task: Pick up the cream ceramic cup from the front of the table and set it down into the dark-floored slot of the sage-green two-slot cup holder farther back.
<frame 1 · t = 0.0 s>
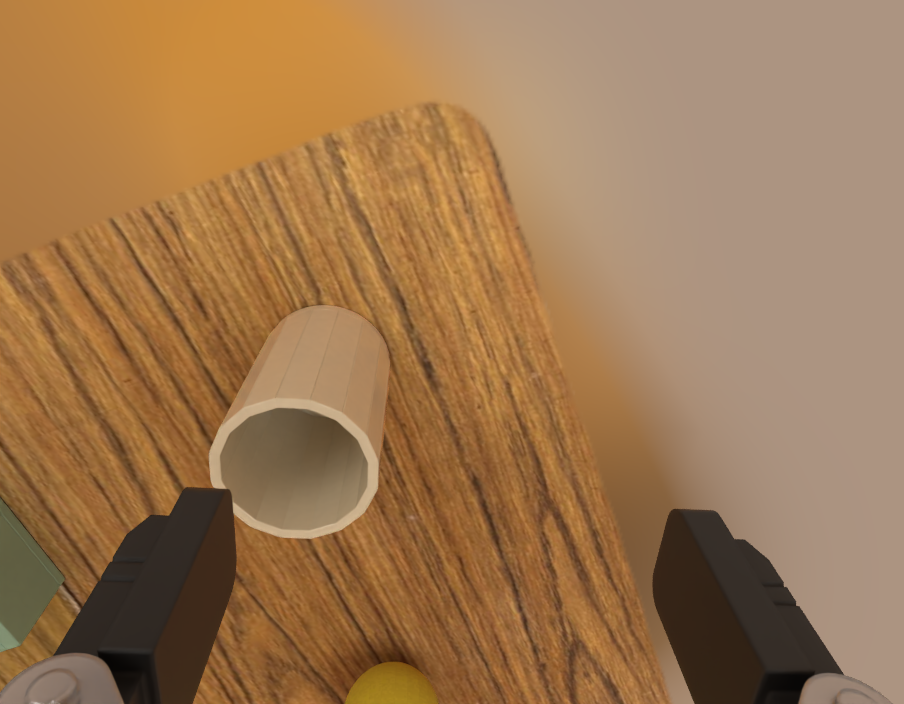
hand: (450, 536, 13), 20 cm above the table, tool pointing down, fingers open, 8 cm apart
lemon: (394, 662, 41), on the table
cup: (327, 363, 33), on the table
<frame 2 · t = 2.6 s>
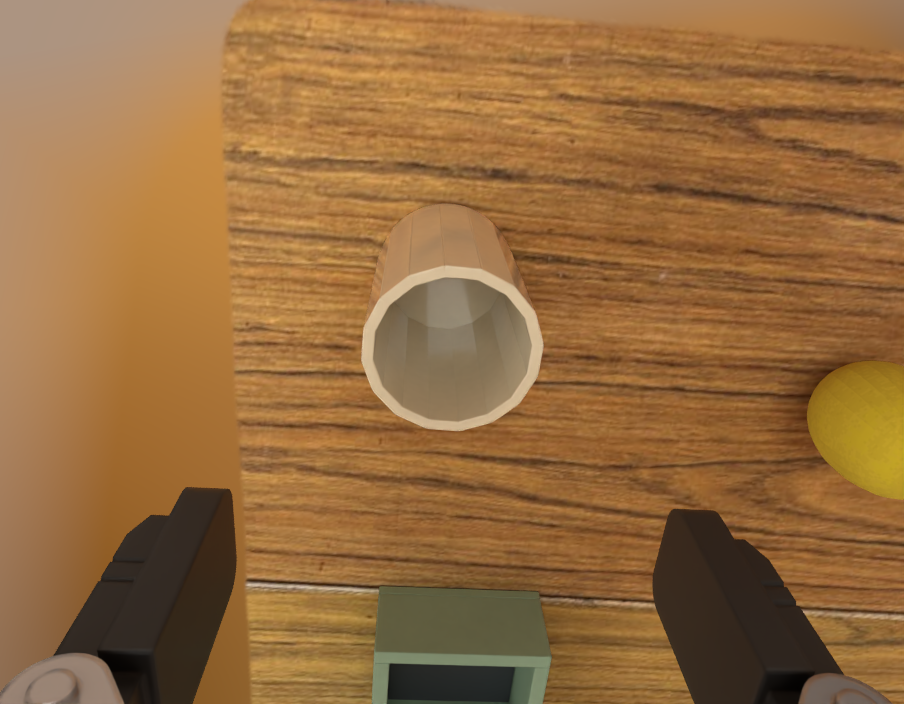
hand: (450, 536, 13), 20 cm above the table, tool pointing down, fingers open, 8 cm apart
lemon: (831, 383, 34), on the table
cup: (445, 269, 31), on the table
holder: (447, 694, 42), on the table
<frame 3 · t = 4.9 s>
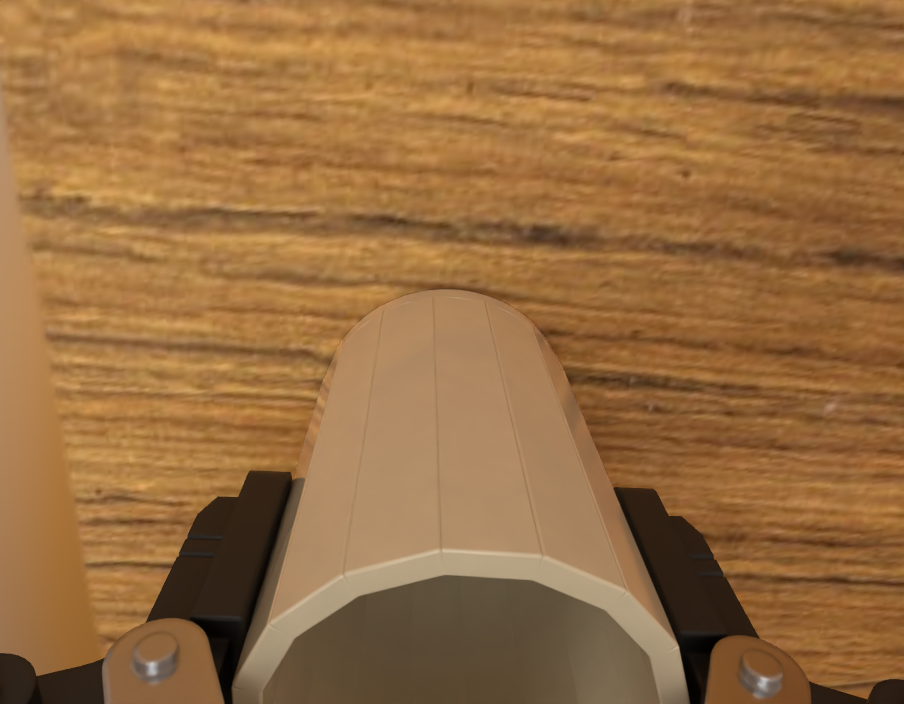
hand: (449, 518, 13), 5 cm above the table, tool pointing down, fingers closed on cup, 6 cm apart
cup: (444, 401, 17), on the table, touching gripper
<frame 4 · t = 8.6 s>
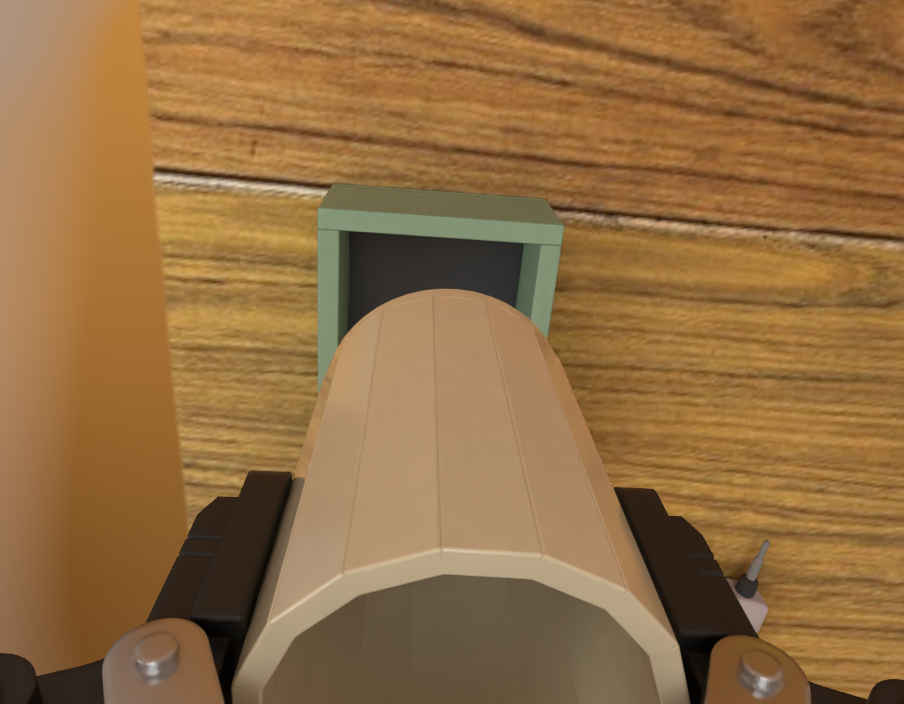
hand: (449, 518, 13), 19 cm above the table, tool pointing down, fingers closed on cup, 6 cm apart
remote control: (681, 626, 41), on the table
cup: (444, 400, 17), point 14 cm above the table, touching gripper
holder: (427, 372, 33), on the table
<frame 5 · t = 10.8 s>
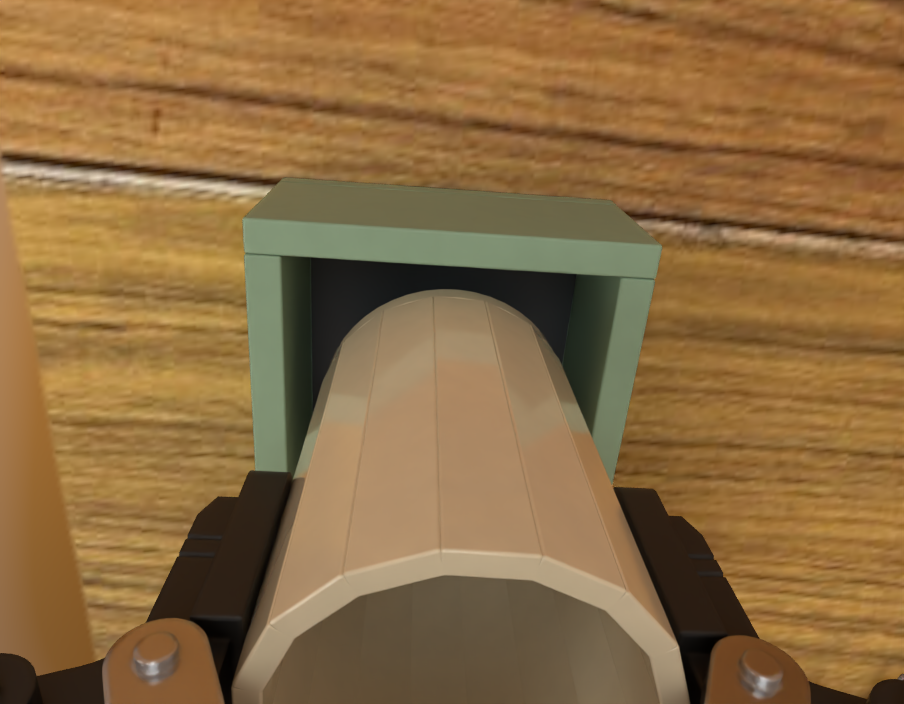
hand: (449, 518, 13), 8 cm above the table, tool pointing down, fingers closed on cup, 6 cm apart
cup: (444, 401, 17), point 4 cm above the table, touching gripper
holder: (430, 454, 22), on the table
when the fingers open (5 cm above the table, at t = 12.3 s): cup stays where it is, resting on holder.
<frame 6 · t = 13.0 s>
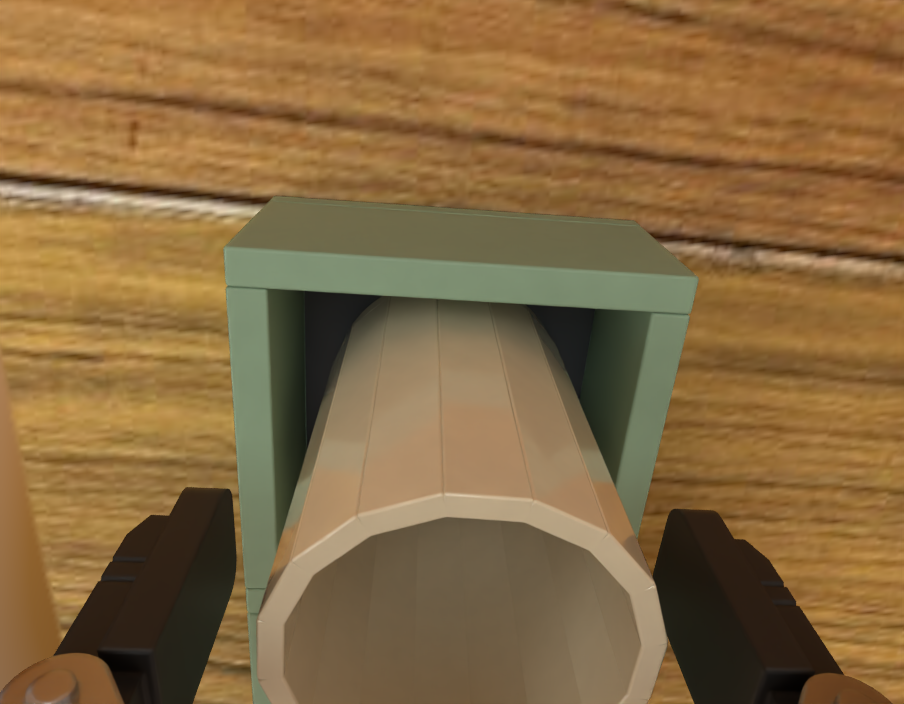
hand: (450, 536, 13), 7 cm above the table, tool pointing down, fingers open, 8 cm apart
cup: (447, 383, 18), point 1 cm above the table, touching holder
holder: (434, 493, 21), on the table
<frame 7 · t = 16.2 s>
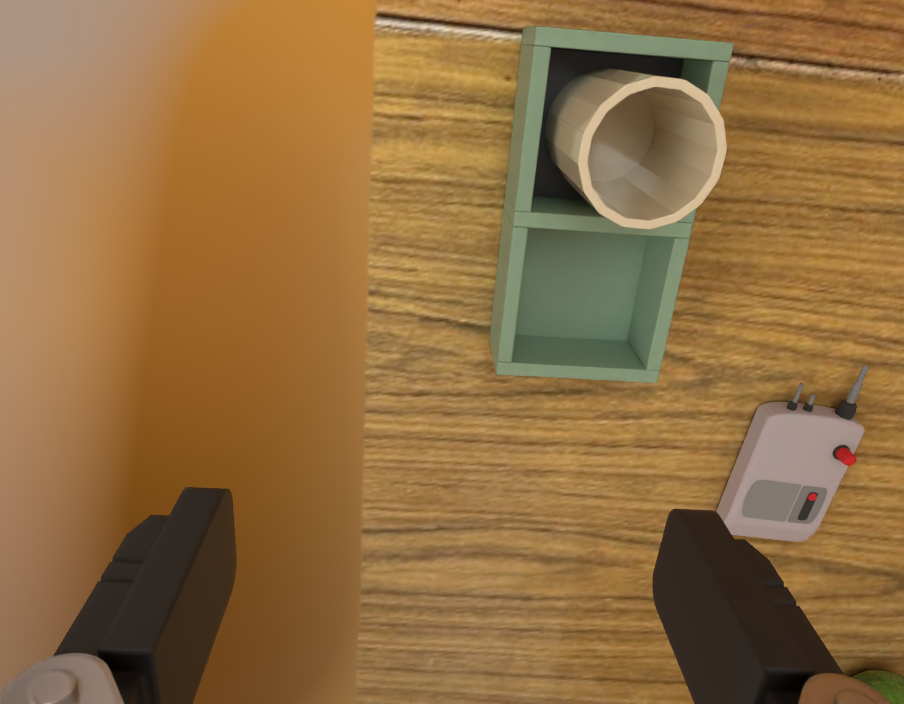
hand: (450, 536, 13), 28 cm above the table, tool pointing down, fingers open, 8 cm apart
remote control: (782, 456, 46), on the table
cup: (601, 129, 36), point 1 cm above the table, touching holder
fruit: (857, 680, 56), on the table
holder: (584, 204, 38), on the table
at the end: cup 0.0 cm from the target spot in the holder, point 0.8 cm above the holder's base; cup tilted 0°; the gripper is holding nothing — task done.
